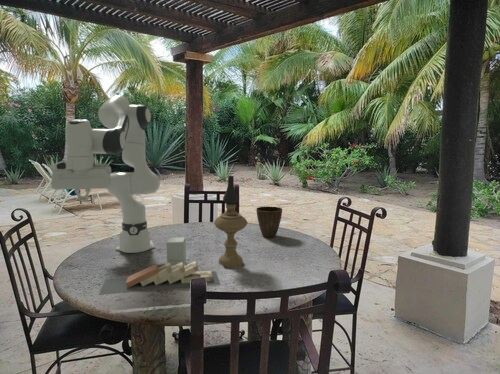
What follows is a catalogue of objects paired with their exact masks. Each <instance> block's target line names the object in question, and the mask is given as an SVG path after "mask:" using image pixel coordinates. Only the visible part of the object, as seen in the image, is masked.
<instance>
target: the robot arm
mask: <svg viewBox="0 0 500 374" xmlns="http://www.w3.org/2000/svg"><path fill="white" fill-rule="evenodd" d="M97 114H98V119H99V121H100V123H101V124H102V126H104V127H106V128H93V127H92V126H91V122H90V120H88V119H84V118H77V119H71V120H69V121H68V122H67V123H66V128H65V131H66V132H65V138H66V139H65V140H66V141H65V143H66V147H67V150H68V151H67V154H66V157H67V159H64V160H61V161H58V162H56V163H54V164H53V169H54V170H53V171H52V174H51V180H50V181H51V184H50V185H51V188H52V189H53V190H58V191H59V190H74V193H75V195H76V196H77V199H78V202H88V200H89V197H88V196H89V194H90V193H91V190H93V189H94V190H95V189H96V190H97V189H98V190H99V189H106V190H107V191H108V193H109V194H111V195H112V196H113V197H114V198H116V200H117V201H118V203H119V205H120V207H121V215H122V222H121V229H122V231H120V233H119V235H118V238H119V239H118V240H119V242H118V245H117V246H116V247H115V251H120V252H122V253H125V254H126V253H127V254H130V253H131V254H134V253H135V254H136V253H141V252H142V253H143V252H145V251H149V250H151V249H152V250H153V249H155V244H154V242H153V241H152V238H151V232H150V230H148V223H147V222H148V221H147V218H146V217H147V215H146V214H147V213H146V205H144V203H143V202H141V201H138V200H136V199H135V197H134V195H149V194H155V193H157V191H159V189H160V185H161V182H160V179H159V176H158V175H157V174H156V173H154V171H152V169H150V167H149V165H148V163H147V160H146V159H147V158H146V157H147V156H146V135H145V130H146V129H147V127H148V126H149V124H150V123H151V119H152V114H151V110H150V108H149V107H148V106H147V105H145V104H131V103H130V101H129V99H127V97H125V96H123V95H119V94H115V95H113V96H111V97H110V98H108V99H107V100H106V101H104V103H103V104H102V105H101V106H100V107H99V109H98V113H97ZM94 154H95V155H97V154H98V155H100V154H101V155H103V154H104V155H107V154H108V155H115V156H118V155H119V154H121V160H122V161H123V163H124V164H125V165H128V166H129V167H132V168H133V169H134V170H133V171H132V172H115V173H112V167H111V165H109V164H107V163H95V161H94V159H95V157H94V156H95V155H94ZM81 190H85V195H81V193H80V192H81Z"/></svg>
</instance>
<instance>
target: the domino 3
mask: <svg viewBox="0 0 500 374" xmlns="http://www.w3.org/2000/svg"><path fill="white" fill-rule="evenodd" d="M183 272H185V268H184V264H183V262H181V263H179V264H176V265H174V266H172V273H169V274H167V275H165V276H163V277H161V278H159V279H157V280H155V281H154V283H155V285H158V284H160V283H162V282H164V281H166V280H168V279H170V278H173V277H175V276H177V275H179V274H181V273H183Z"/></svg>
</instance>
